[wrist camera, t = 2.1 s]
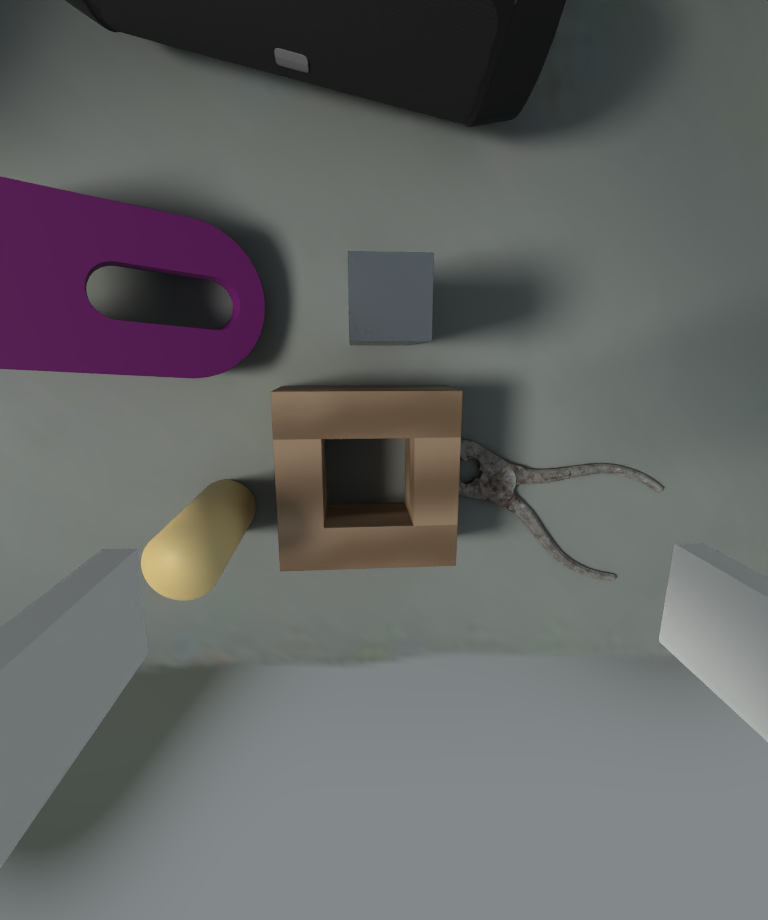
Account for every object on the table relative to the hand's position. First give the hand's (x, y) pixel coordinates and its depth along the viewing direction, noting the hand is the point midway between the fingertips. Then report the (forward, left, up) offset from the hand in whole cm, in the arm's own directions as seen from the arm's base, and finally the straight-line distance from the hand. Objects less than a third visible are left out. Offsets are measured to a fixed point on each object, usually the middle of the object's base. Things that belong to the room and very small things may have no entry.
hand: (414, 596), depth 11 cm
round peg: (+5, -11, -24) cm, 27 cm away
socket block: (+2, 0, -24) cm, 24 cm away
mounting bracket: (-9, -16, -24) cm, 31 cm away
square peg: (-9, +1, -24) cm, 25 cm away
